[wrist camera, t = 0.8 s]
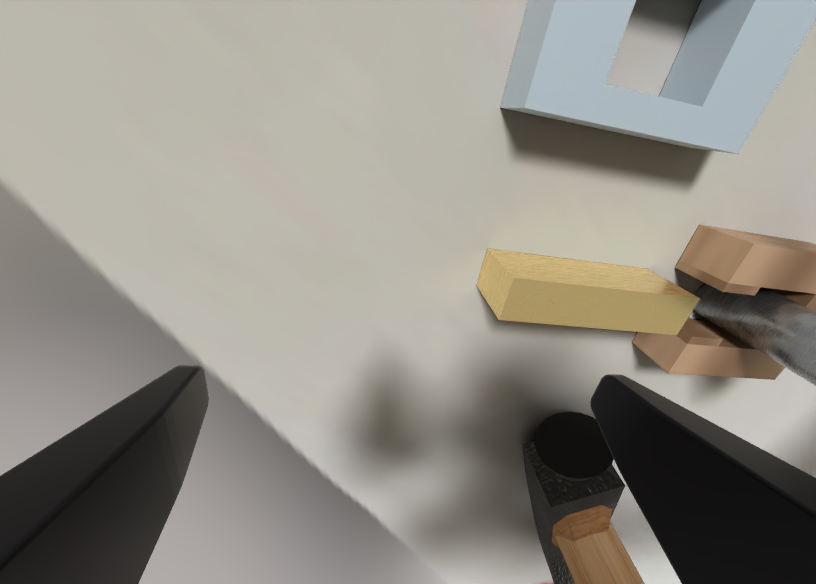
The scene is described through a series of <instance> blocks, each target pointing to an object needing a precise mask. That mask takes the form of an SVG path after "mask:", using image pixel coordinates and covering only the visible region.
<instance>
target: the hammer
mask: <svg viewBox="0 0 816 584" xmlns="http://www.w3.org/2000/svg"><path fill="white" fill-rule="evenodd" d="M523 452H524V461H525V470H526V478H527V483H528V488H529V493H530V498H531V503H532V508H533V514H534V519H535V524H536V528H537V532H538V535H539V539H540V542H541V546H542V549H543V552H544V555H545V558H546V560H547V563H548V566H549V569H550V572H551V575H552V579H553V582H554V584H644V582H643V580H642V578H641V576H640V575H639V573H638V571H637V569H636V567H635V566H634V564H633V562H632V560H631V558H630V557H629V555H628V553H627V551H626V549H625V547H624V546H623V544H622V542H621V540H620V538H619V537H618V535H617V533H616V531H615V529H614V528H613V526H612V524H611V522H610V519H611V516H612V514H613V512H614V510H615V507H616V505H617V503H618V501H619V498H620V496H621V494H622V492H623V489H624V487H625V485H624V483H623V481H622V480H621V478H620V477H619V475H618V473H617V472H616V470H615V469H614V467H613V465H612V462H613V459H614V458H613V456H612V454H611V451H610V449H609V447H608V445H607V442H606V440H605V438H604V436H603V433H602V431H601V429H600V427H599V425H598V422H597V420H596V419H594V418H593V417H591V416H588V415H585V414H582V413H577V412H563V413H557V414H555V415H553V416H550V417H548V418H547V419H546V420H544V421H543V422H542V423H541V424H540V425H539V427H538V429H537V431H536V433H535V441H532V442H529V443H526V444H523Z"/></svg>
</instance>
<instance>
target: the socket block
mask: <svg viewBox="0 0 816 584" xmlns="http://www.w3.org/2000/svg"><path fill="white" fill-rule="evenodd" d="M675 268H677V269H679V270H681V271H683V272H685V273H687V274H689V275H691V276H692V277H694V278H696V279H698V280H700V281H702V282H704V283H706V284H708V285H710V286H712V287H714V288H716V289H718V290H720V291H722V292H729V293H737V294H746V295H754V296H755V294H756V293H757V292H758V290H759V289H760V287H764V288H766V289H768V290H770V291H773V292H775V293H777V294H779V295H782V296H784V297H786V298H788V299H791V300H793V301H795V302H797V303H799V304H802V305H804V306H806V307H808V308H811V309H813V310H815V311H816V245H815V244H812V243H808V242H802V241H796V240H790V239H784V238H778V237H771V236H765V235H759V234H753V233H747V232H741V231H734V230H728V229H722V228H716V227H710V226H704V225H699V227H698V229H697V230H696V232H695V234H694V236H693V237H692V239H691V241H690V243H689V244H688V246H687V248H686V249H685V251H684V253H683V255H682V256H681V258H680V260H679V262H678V263H677V265H676V267H675ZM632 343H634V344H635V345H636V346H637V347H638V348H639V349H641V350H642V351H643V352H644V353H645V354H646V355H647V356H649V357H650V358H651V359H652V360H653V361H654V362H656V363H657V364H658V365H659V366H660V367H661V368H663V369H664V370H665V371H666V372H667V373H673V374H689V375H706V376H723V377H739V378H756V379H772V380H775V379H776V377H777V376H778V375H779V374H780V373H781V372H782V370H783V369H784V368H785V367H784V366H783V365H781V364H779V363H778V362H776V361H774V360H773V359H771V358H770V357H768V356H766V355H765V354H763V353H761V352H760V351H758V350H757V349H755V348H753V347H752V346H750V345H748V344H747V343H745V342H743V341H742V340H740V339H739V338H737V337H735V336H734V335H732V334H730V333H729V332H727V331H726V330H724V329H722V328H721V327H719V326H717V325H716V324H714V323H712V322H711V321H702V320H692V319H691V318H689V317H688V319H687V320H686V322H685V323H684V325H683V326H682V328H681V330H680V331H679V333H678V334H677V335H669V334H657V333H645V332H638V333H637V335H636V336H635V338H634V340H633V342H632Z"/></svg>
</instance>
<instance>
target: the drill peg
mask: <svg viewBox="0 0 816 584" xmlns="http://www.w3.org/2000/svg"><path fill="white" fill-rule="evenodd" d="M695 296H697V297H698V298H700V300H699V301H698V303H697V305H696V306H695V308H694V311H695V312H696V313H698V314H699V315H701V316H703V317H704V318H706V319H708V320H709V321H711V322H712V323H714V324H716V325H717V326H719V327H721V328H722V329H724V330H726V331H727V332H729V333H730V334H732V335H734V336H735V337H737V338H739V339H740V340H742V341H743V342H745V343H747V344H748V345H750V346H752V347H753V348H755V349H757V350H758V351H760V352H761V353H763V354H765V355H766V356H768V357H770V358H771V359H773V360H774V361H776V362H778V363H779V364H781V365H783V366H784V367H786V368H788V369H789V370H791V371H792V372H794V373H796V374H797V375H799V376H801V377H802V378H804V379H806V380H807V381H809V382H810V383H812V384H814V385H815V386H816V311H815V310H813V309H811V308H808V307H806V306H804V305H802V304H799V303H797V302H795V301H793V300H791V299H788V298H786V297H784V296H782V295H779V294H777V293H775V292H773V291H770V290H768V289H766V288H764V287H760V289H759V290H758V292H757V293H756V294H755V296H754V295H746V294H737V293H729V292H722V291H720V290H718V289H716V288H714V287H712V286H710V285H708V284H706V283H704V284H703V285H702V286H701V287H700V288H699V290H698V291H697V292H696V294H695Z"/></svg>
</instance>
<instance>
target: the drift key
mask: <svg viewBox="0 0 816 584" xmlns="http://www.w3.org/2000/svg"><path fill="white" fill-rule="evenodd" d="M477 287H478V289H479V290H480V292H481V293H482V295H483V296H484V298H485V299H486V301H487V302H488V304H489V306H490V307H491V309H492V310H493V312H494V313H495V315H496V316H497V318H498V319H499V320H506V321H517V322H529V323H541V324H552V325H564V326H576V327H587V328H599V329H610V330H622V331H634V332H645V333H657V334H669V335H677V334H678V333H679V331H680V330H681V328H682V326H683V325H684V323H685V322H686V320H687V319H688V317H689V316H690V314H691V312H692V311H693V309H694V308H695V306H696V305H697V303H698V301H699V300H700V298H698V297H697V296H695V295H693V294H691V293H690V292H688V291H686V290H684V289H682V288H681V287H679V286H677V285H675V284H674V283H672V282H670V281H668V280H667V279H665V278H663V277H661V276H659V275H658V274H656V273H654V272H652V271H651V270H649V269H643V268H635V267H628V266H620V265H612V264H604V263H596V262H588V261H581V260H573V259H565V258H557V257H549V256H541V255H534V254H526V253H518V252H510V251H502V250H494V249H487V252H486V255H485V259H484V262H483V265H482V269H481V272H480V276H479V279H478V282H477Z"/></svg>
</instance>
